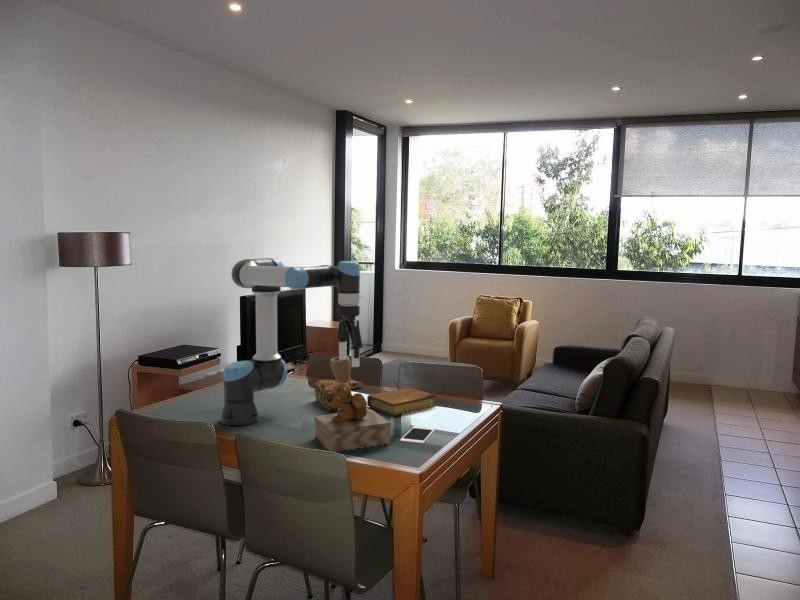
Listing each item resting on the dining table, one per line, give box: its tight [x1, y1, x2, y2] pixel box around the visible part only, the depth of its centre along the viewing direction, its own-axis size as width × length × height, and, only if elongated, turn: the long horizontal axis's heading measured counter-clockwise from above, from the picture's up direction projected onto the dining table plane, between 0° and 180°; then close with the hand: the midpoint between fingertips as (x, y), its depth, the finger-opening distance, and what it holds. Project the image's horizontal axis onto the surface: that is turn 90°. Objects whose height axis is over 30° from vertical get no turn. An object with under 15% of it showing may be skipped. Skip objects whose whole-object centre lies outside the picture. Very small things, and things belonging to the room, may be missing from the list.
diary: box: [366, 386, 436, 417], centre depth 277 cm, size 23×19×6 cm
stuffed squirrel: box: [331, 382, 368, 422], centre depth 232 cm, size 10×14×13 cm
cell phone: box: [399, 425, 437, 445], centre depth 239 cm, size 9×18×1 cm, turn 162°
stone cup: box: [329, 355, 364, 390], centre depth 310 cm, size 15×12×15 cm
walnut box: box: [313, 408, 391, 453], centre depth 232 cm, size 23×19×8 cm
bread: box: [313, 378, 340, 411], centre depth 280 cm, size 19×11×10 cm, turn 25°
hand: (349, 363), depth 230 cm, fingers open, 13 cm apart
